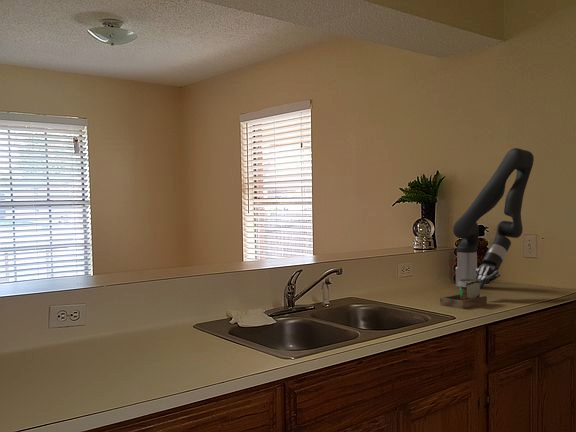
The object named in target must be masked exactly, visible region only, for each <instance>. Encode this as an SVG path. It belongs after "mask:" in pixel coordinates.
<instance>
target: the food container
mask: <svg viewBox="0 0 576 432" xmlns="http://www.w3.org/2000/svg"><path fill="white" fill-rule="evenodd" d="M480 284H481V280H480V279H474V278H469V279H460V280H459V281H458V286H459V287H458V288H459V294H460V297H461V301H464V300H468V299H473V298H478V297H481V295H480V293H481V289H480Z"/></svg>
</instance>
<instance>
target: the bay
mask: <svg viewBox="0 0 576 432" xmlns="http://www.w3.org/2000/svg"><path fill="white" fill-rule="evenodd" d="M487 302H488V297H487V296H486V295H484V296H480V297H478V298H473V299H468V300H464V301H461V297H460V293H458V294H453V295H447V296H444V297H443V296H442V297H440V298H439V305H440V306H443V307H449V308H454V309H461V310H465V309H470V308H475V307H478V305H479V306H483V305H486V304H488V303H487ZM482 304H483V305H482ZM469 307H470V308H469Z"/></svg>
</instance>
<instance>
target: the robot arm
mask: <svg viewBox="0 0 576 432" xmlns="http://www.w3.org/2000/svg"><path fill="white" fill-rule="evenodd" d="M534 158H535V157H534V154H533V153H532V152H531V151H529V150H526V149H522V148H517V147H515V148H514V147H513V148H512V149H510V150H508V151H507V152H506V154H505V155H504V157H503V159H502V160H501V162H500V164H499V165H498V167H497V168H496V170H495V171H494V173H493V174H492V176H491V177H490V179H489V180H488V181H487V183H486V184H485V185H484V187H482V189H481V190H480V192H479V194H477V197H475V199H474V200H473V202H472V203H471V204H470V206H469V207H468V208H467V209H466V211H465V212H463V213H462V215H461V216H460V217H459V218H458V219H457V220H456V221H455V223H454V226H453V228H452V229H453V230H452V232H453V234H454V236H455V237H457V238H458V239H461V241H460V243H459V244H458V245H457V246H456V263H457V264H456V265H457V266H456V267H455V287H457V288H460V287H459V286H458V281H459V280H460V279H469V278H474V279H480V280H481V284H480V290H481V289H483V288H484V286H485V284H486V283H489V284H490V283H491V282H493V281H495V280H496V279H498V278H499V277H501V273H500V272H499V269H500V267H501V265H502V264H503V262H504V260H505V258H506V256H507V252H508V251H509V249H510V247H511V245H512V242H511V240H510V239H509V238H512V239H518V238H520V237H521V236H522V234H523V223H522V222H523V221H522V213H521V212H522V207H523V200H524V197H525V196H524V195H525V192H526V191H525V190H526V188H527V185H528V181H529V178H530V175H531V172H532V169H533V165H534V161H535V160H534ZM515 170H516V175H515V179H514V182H513V184H512V185H511V187H510V189H509V191H507V194H506V196H505V203H504V208H503V214H504V215H505V216H507V217H511V219H512V221H510V220H509V221H508V220H501V221H500V222H498V224H497V226H496V231H495V237H494V240H493V242H492V243H491V245H490V246H489V248H488V249H487V251H486V253H485V255H484V257H483V258H482V260H481V264H480V265H479V266H478V246H479V241H480V240H479V238H480V237H479V235H480V233H479V231H480V230H479V225H478V223H477V222H478V221H479V220H480V219H481V218H482V217H483V216H484V215H486V214H488V212H490V211H491V210H493V208H495V207H496V206H497V204H498V203H499V202H500V201H501V199H502V198H503V196H504V194H505V191H506V184H507V181H508V180H509V178H510V176H511V174H512V173H513V172H514V171H515Z"/></svg>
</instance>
